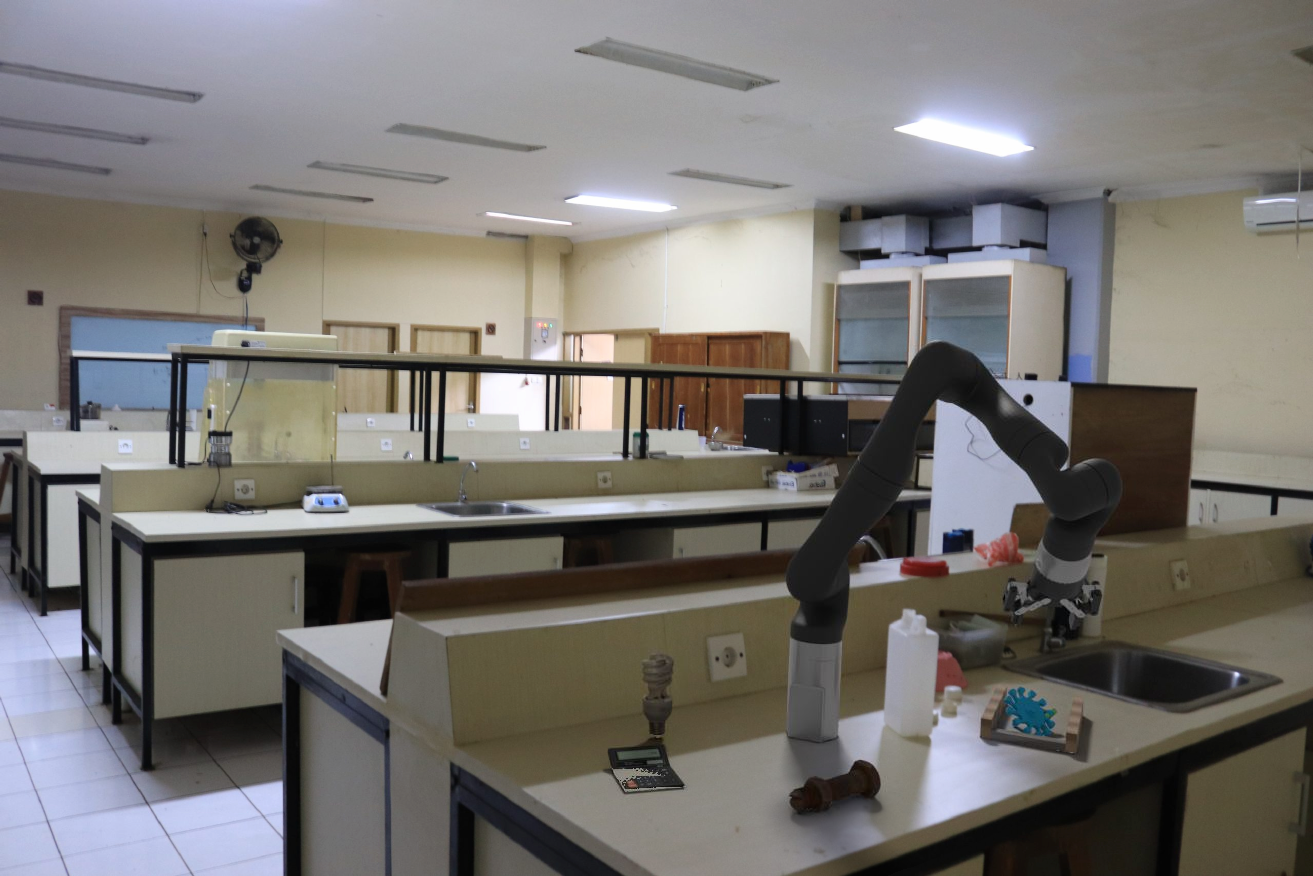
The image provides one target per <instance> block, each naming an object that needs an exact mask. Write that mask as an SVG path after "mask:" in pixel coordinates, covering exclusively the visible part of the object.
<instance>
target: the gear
mask: <svg viewBox="0 0 1313 876" xmlns="http://www.w3.org/2000/svg"><path fill="white" fill-rule="evenodd" d="M1025 693H1026V688H1025V687H1023V686H1018V687H1017V688H1016V689H1015V688H1011V689H1009V690H1007V697H1006V698H1005V699H1004V702H1005V703H1006V704H1007V705H1009V706H1007V707H1006V708H1005V713H1006V715H1008V716H1015V718H1013V719H1012V721H1011V722H1012V723H1011V724H1012V726H1013V727H1014V728H1017V727H1018V726H1020V725H1022V724H1023V725H1026V726H1025V727H1024V728H1023V729H1022V730H1021V731H1022V733H1026V734H1032V733H1033V731H1032V729H1034V730H1035V732H1034V733H1033V735H1038V736H1044V737H1049V736H1050V735H1052V734H1053V732H1052V729H1053V728H1054V727H1055V726H1056V722H1055V721H1053V720H1051V718H1053V717H1054V716H1055V715H1056V714H1057V713H1058V711H1057V709H1056V708H1051V709H1046V708H1044V707H1045V706H1046V705H1048V703H1047V701H1046V700H1045V698H1040V699H1039V700H1038V701H1037V700H1034V698H1035V697H1036V696H1037V693H1036V692H1035V691H1034V690H1033V689H1031V690H1030V691H1028V692H1027V697H1026V696H1025V695H1024V694H1025ZM1017 694H1018V696H1017ZM1041 728H1042V729H1041Z"/></svg>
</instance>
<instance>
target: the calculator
mask: <svg viewBox="0 0 1313 876" xmlns="http://www.w3.org/2000/svg"><path fill="white" fill-rule="evenodd" d="M607 755H608V760H609V764H610V768H611V767H612V768H613V769H623V768H624V769H633V768H634V769H636V768H639V769H640V768H642V769H643V770H644V771H645V770H646V769H647V770H648V771H645V772H648V773H650V772H653V773H652V774H655V773H656V772H658V773H657V774H658V775H660V774H661V776H650V777H649V776H636V778H635V779H633V778H631V779H630V780H628V781H626V780H624V781H623V782H626V783H623V782H622V785H623V786H624V784H625V786H624V788H625V789H637V788H638V789H639V788H653V787H654V788H656V787H683V786H685V787H686V785H685V782H684V781H683V780H682V778H680V776H679V775H678V773H677V772H676V771H675V770H674V769H673V767H672V766H671V764H670V760H669V757H668V754H667V750H666V747H665V744H654V745H651V744H649V745H636V746H623V747H622V746H621V747H608V748H607ZM652 770H653V771H652ZM636 771H638V770H636ZM644 771H642V770H641V772H644ZM664 775H665V776H664ZM632 777H634V776H632ZM640 777H641V778H640ZM637 778H640V779H637ZM626 779H628V778H626ZM631 780H632V781H631ZM620 781H621V780H620Z"/></svg>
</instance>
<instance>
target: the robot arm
mask: <svg viewBox="0 0 1313 876" xmlns="http://www.w3.org/2000/svg"><path fill="white" fill-rule="evenodd" d="M937 400H938V401H940V402H944V403H946V404H952V405H955V406H956V407H958V408H959V409H962V410H964V411H965V412H967V413H969V414H970V415H972V416H974V417H975V418H976V419H977V420H978V421H979V422H981V423H982V425H984V427H985V428H986V430H987V431H988V433H989V435H990V436H991V438H992V440H993V441H994V443H995V444H996V446H997V447H998V448H999V449H1000V451H1002V452H1003V453H1004V455H1006V457H1008V458H1009V459H1010V460H1011V461H1013V462H1014V463H1015V464H1016V465H1017V466H1018V467H1019V468H1020V469H1021V470H1022V471H1023V472H1024V473H1026V475H1027V476H1028V478H1029V479H1030V482H1032V484H1033V486H1034V488H1035V489H1036V491H1037V493H1038V494H1039V496H1040V498H1041V500H1042V501H1043V503H1044V505H1045V506H1046V508H1047V510H1048V511H1049V513H1050V514H1048V516H1047V520H1046V522H1045V525H1044V530H1043V534H1042V538H1041V540H1040V541H1039V544H1038V546H1037V550H1036V553H1035V558H1034V561H1033V566H1032V570H1031V574H1030V577H1029V579H1028V580H1027V581H1026V582H1017V579H1016V578H1015V577H1008V579H1007V581H1006V584H1005V588H1004V590H1003V593H1002V596H1001V601H1002V606H1003V611H1004V612H1005V613H1010V618H1011V619H1010V620H1011V623H1012V624H1013V625H1014V626H1015V628H1021V626H1022V622H1023V619H1024V614H1025V613H1026V612H1028V611H1030V612H1032V611H1034V610H1036V609H1039V608H1040V607H1042V608H1043V607H1044V608H1045V607H1054V608H1062V607H1065V608H1066V609H1067V610H1068V611H1069V612H1070V613H1069V618H1068V623H1069V628H1070V629H1069V630H1073V631H1074V630H1077V628H1079V627H1081V625H1082V622H1083V619H1084V618H1085V617H1086V615H1090V616H1091V617H1094V616H1098V614H1099V610H1100V607H1101V603H1102V598H1103V592H1102V588H1101V583H1100V581H1099V580H1092V582H1091V583H1090V584H1084V583H1085V580H1086V577H1087V574H1088V570H1089V569H1090V567H1091V566H1090V565H1091V560H1092V551H1093V548H1094V547H1095V546H1094V545H1095V542H1096V539H1097V535H1098V533H1099V532H1100V530H1101V529H1103V527H1104V525H1106V523H1107V522H1108V521H1109V519H1110V517H1111V515H1113V513H1114V512H1115V510H1116V508H1117V507H1118V505H1119V503H1120V501H1121V499H1122V494H1123V479H1122V476H1121V473H1120V472H1119V470H1118V468H1117V467H1116V466H1115V465H1114V464H1113V463H1112V462H1110V461H1108V460H1106V459H1102V458H1090V459H1085V460H1083V461H1082V462H1079V463H1076V464H1074V465H1071V466H1070V467H1067V468H1065V469H1063V467H1064V466H1065V464H1067V462H1068V459H1069V456H1070V449H1069V446H1068V445H1067V443H1066V442H1065V441H1064V440H1063V438H1061V436H1059V435H1058V434H1057V433H1055V432H1054V431H1053V430H1052V429H1050V427H1048V425H1046V424H1044V422H1042V420H1040V419H1038V418H1037V417H1036V416H1035V415H1034V414H1033V413H1031V412H1030V411H1028V410H1027V409H1026V408H1025V407H1024V406H1023V405H1021V404H1020V403H1019V402H1018V401H1017V400H1016V399H1014V397H1012V396H1011V395H1010V393H1008V392H1007V391H1006V390H1005V389H1004V387H1003V386H1002V385H1001V384H1000V383H999V382H998V380H997V379H996V378H995V377H994V376H993V374H992V373H991V371H990V370H989V369H988V368H987V367H986V365H985V364H984V363H983V362H982V360H981V359H980V358H979V357H978V356H977V355H975V354H974V353H973V352H971V351H970V350H967V349H965V348H962V347H961V346H958V345H956V344H953V343H950V342H948V341H947V340H946V341H945V340H941V339H935V340H932V341H929V342H927V343H926V344H925V345H923V346H922V347H921V348H920V349H919V350H918V351H917V353H915V355H914V356H913V358H912V359H911V361H910V364H909V365H908V367H907V369H906V371H905V372H904V375H903V377H902V379H901V382H900V383H899V386H898V387H897V389H896V392H895V394H894V396H893V398H892V400H891V401H890V404H889V406H888V408H887V409H886V411H885V413H884V415H883V416H882V418H881V420H880V421H879V423H878V424H877V426H876V428H875V430H874V432H873V434H872V435H871V437H870V438H869V440H868V442H867V444H865V446H864V448H863V449H862V451H861V452H860V454H859V455H858V456H857V458H856V460H855V461H854V463H853V464H852V467H851V468H850V469H849V472H848V473H847V475H846V476H845V479H843V482H842V483H841V486H840V487H839V489H838V490H837V492H836V493H835V495H834V497H833V498H832V500H831V502H830V504H829V506H828V508H826V511H825V512H824V514H823V516H822V517H821V520H820V521H819V523H818V524H817V526H816V527H815V529H814V530H813V531H812V532H811V533H810V535H809V536H808V537H807V539H806V540H805V541H804V543H803V544H802V545H801V546H800V547H799V548H798V549H797V552H796V553H795V554H794V555H793V556H792V558H791V560H790V561H789V562H788V565H787V567H786V572H785V584H786V588H787V590H788V593H790V596H791V597H792V598H794V599H795V600H797V601H798V602H799V605H798V609H797V611H796V613H795V616H794V617H792V620H791V622H790V629H789V631H790V632H789V634H790V635H789V652H788V653H789V655H788V656H789V657H788V658H789V659H788V674H787V675H788V676H787V679H788V680H787V697H786V699H787V702H786V703H787V704H786V725H785V728H786V729H785V730H786V732H787V737H789V738H795V739H799V740H805V741H810V742H816V743H820V744H821V743H823V742H825V741H831V740H834V739H836V738H837V737H838V736H839V721H840V699H841V697H840V696H841V695H840V694H841V672H842V654H843V653H842V651H843V650H842V649H843V647H842V646H843V633H844V628H845V626H846V623H847V621H848V620H847V619H848V614H849V613H848V610H849V600H850V599H849V598H850V589H851V588H850V587H851V586H850V584H851V580H850V579H851V574H850V572H851V571H850V567H849V564H848V562H847V558H848V556H849V554H851V552H852V550H853V549H854V548H855V546H856V545H857V544H858V543H859V542H860V541H861V539H862V538H863V537H864V536H865V535H866V534H867V533H868V532H869V531H870V530H871V529H872V528H873V527H874V526H876V524H878V522H880V521H881V520H882V518H884V516H886V514H887V513H888V512H889V510H890V509H891V508H892V507H893V505H894V504H895V503H896V501H897V500H898V498H899V497H900V495H901V493H902V492H903V491H904V489H905V488H906V486H907V484H908V482H909V481H910V479H911V478H912V477H911V476H912V474H913V471H914V467H915V460H916V449H917V439H918V433H919V430H920V428H921V426H922V424H923V421H924V420H925V418H926V416H927V415H928V413H929V411H930V410H931V409H932V406H933V405H934V404H935V403H936V401H937ZM1061 469H1063V470H1061ZM1084 594H1085V595H1086V597H1087V599H1086V600H1087V601H1085V602H1083V601H1082V600H1081V597H1082V596H1083V595H1084Z"/></svg>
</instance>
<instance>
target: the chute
mask: <svg viewBox="0 0 1313 876" xmlns="http://www.w3.org/2000/svg"><path fill="white" fill-rule="evenodd" d="M1007 696H1008V686H1007V685H1003V684H997V685H996V687H995V689H994V691H993V693H992V695H991V697H990V699H989V701H988V703H987V705H986V707H985V708H984V711H983V713H982V715H981V717H980V726H979V729H980V731H979V732H980V733H979V738H982V739H988V740H993V741H1000V742H1003V743H1004V742H1005V743H1011V744H1016V745H1021V744H1022V745H1021V746H1027V747H1032V746H1033V748H1038V747H1040V748H1039V749H1044V748H1046V749H1045V750H1049V749H1052V750H1051V751H1055V750H1059V751H1058V752H1060V751H1065V752H1064V753H1066V752H1073V753H1076V752H1077V751H1078V747H1079V741H1080V735H1081V730H1080V729H1082V724H1083V723H1082V722H1083V718H1084V717H1083V716H1084V701H1085V698H1084V697H1082V696H1081V697H1080V696H1073V699H1072V702H1071V703H1072V704H1071V709H1070V713H1069V718H1068V721H1067V726H1066V730H1065V739H1061V738H1055V737H1049V736H1044V735H1043V736H1038V735H1034V734H1032V733H1031V734H1026V733H1023V732H1021V731H1014V730H1008V729H1001V728H996V727H997V725H998V723H999V720H1000V718H1001V716H1002V713H1003V711H1004V709H1005V707H1006V704H1007V703H1005V702H1004V699H1005V698H1006V697H1007ZM1077 746H1078V747H1077ZM1076 754H1077V753H1076Z"/></svg>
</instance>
